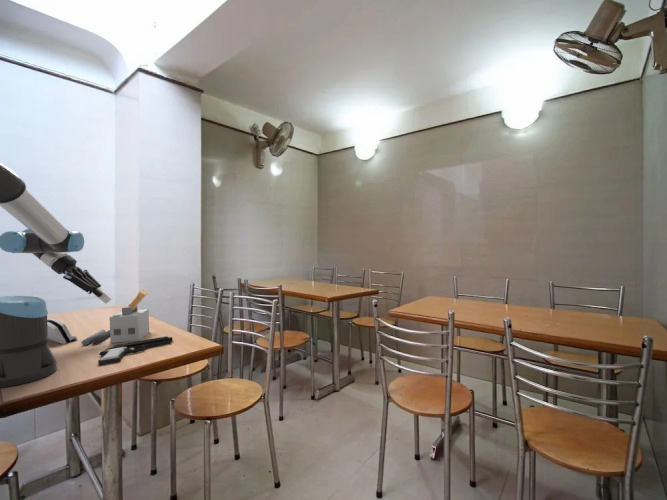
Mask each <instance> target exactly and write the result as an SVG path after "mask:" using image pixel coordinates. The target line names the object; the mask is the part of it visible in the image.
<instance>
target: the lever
mask: <svg viewBox="0 0 667 500" xmlns="http://www.w3.org/2000/svg"><path fill="white" fill-rule="evenodd" d="M147 295H148V292H147V291H145V290H141V291H139V292H138V294H137V295H136V296H135V297H134V299H133V300H132V301H131V303H130V305H129V304H128V306H127V307H131V312H132V311H134V310H135V309H136V308H135V307H136V306H137V307H138V305H139V304H140V303H141V301H142V300H144V298H145V297H147Z"/></svg>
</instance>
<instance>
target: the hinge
mask: <svg viewBox="0 0 667 500" xmlns="http://www.w3.org/2000/svg"><path fill="white" fill-rule="evenodd" d="M47 327H48V341H53V342H56V343H58V344H60V345H64V344H67V342H68V341H70V342H71V341H72V340H73V341H77V342H78V341H79V340H78V337H77V336H76V335H72V334H71V332H70V330H69V329H68V327H67V326H66V324H65V323H64V322H62V321H61V320H59V319H56V318H50V319H47Z"/></svg>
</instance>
